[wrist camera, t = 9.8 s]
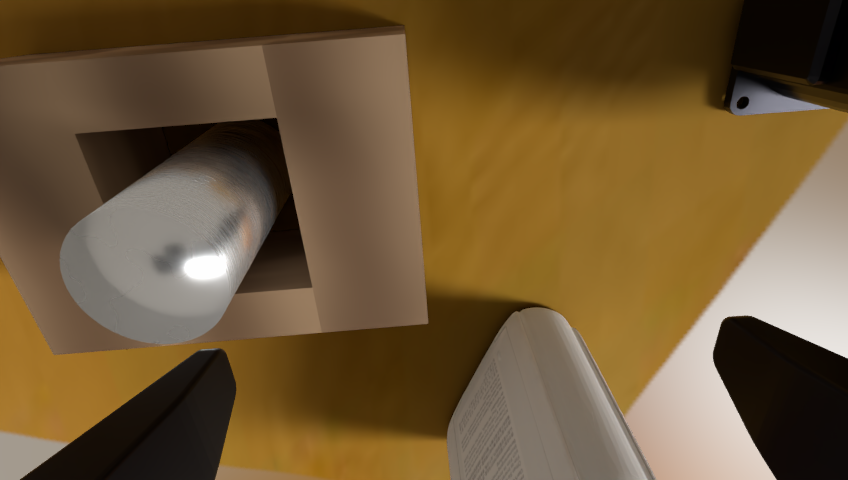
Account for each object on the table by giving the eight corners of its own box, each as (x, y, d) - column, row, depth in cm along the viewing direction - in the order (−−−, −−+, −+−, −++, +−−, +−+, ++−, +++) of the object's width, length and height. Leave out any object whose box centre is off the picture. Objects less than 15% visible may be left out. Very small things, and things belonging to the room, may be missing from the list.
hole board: (404, 25, 18) (404, 34, 13) (422, 258, 22) (428, 323, 18) (27, 54, 18) (-100, 73, 13) (123, 283, 22) (53, 354, 18)
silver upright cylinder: (305, 205, 21) (246, 337, 13) (214, 213, 21) (98, 349, 13) (286, 113, 19) (203, 201, 11) (186, 121, 19) (29, 215, 11)
